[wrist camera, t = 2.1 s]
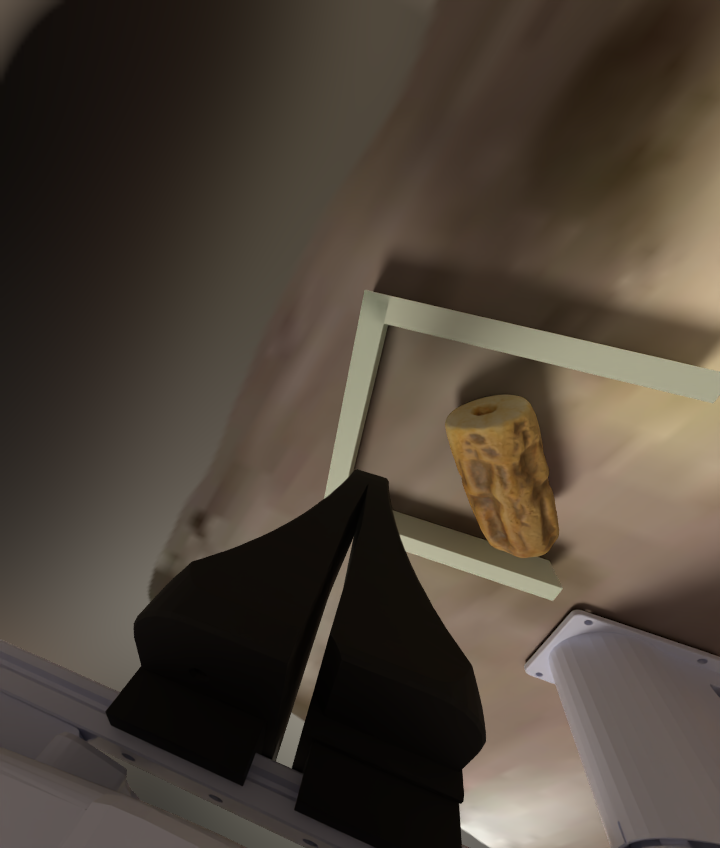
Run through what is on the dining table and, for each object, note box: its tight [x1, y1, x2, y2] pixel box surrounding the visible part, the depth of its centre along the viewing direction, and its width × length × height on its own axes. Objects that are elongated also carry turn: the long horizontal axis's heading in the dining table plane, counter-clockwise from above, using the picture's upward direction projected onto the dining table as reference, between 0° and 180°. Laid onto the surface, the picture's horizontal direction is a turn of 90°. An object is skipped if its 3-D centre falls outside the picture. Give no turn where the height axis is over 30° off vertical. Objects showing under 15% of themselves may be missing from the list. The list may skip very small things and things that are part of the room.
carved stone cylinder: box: [445, 394, 559, 558], centre depth 15 cm, size 8×4×4 cm, turn 23°
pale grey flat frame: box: [324, 290, 720, 601], centre depth 16 cm, size 15×14×2 cm
